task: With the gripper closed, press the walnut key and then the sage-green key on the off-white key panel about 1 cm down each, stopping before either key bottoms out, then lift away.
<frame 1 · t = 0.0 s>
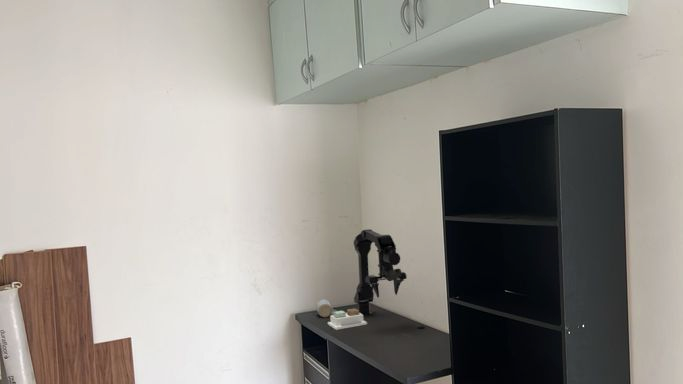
hand: (387, 295, 254), 15 cm above the table, tool pointing down, fingers open, 9 cm apart
sage key: (339, 315, 264), point 5 cm above the table, slide at 0.0 cm
ceramic mug: (327, 315, 283), on the table
walnut key: (353, 313, 266), point 5 cm above the table, slide at 0.0 cm
key panel: (347, 323, 265), on the table
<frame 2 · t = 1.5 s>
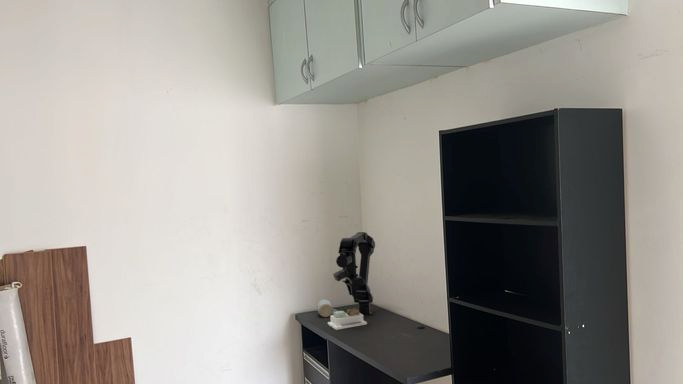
hand: (352, 295, 266), 13 cm above the table, tool pointing down, fingers open, 3 cm apart
nothing on the table moved.
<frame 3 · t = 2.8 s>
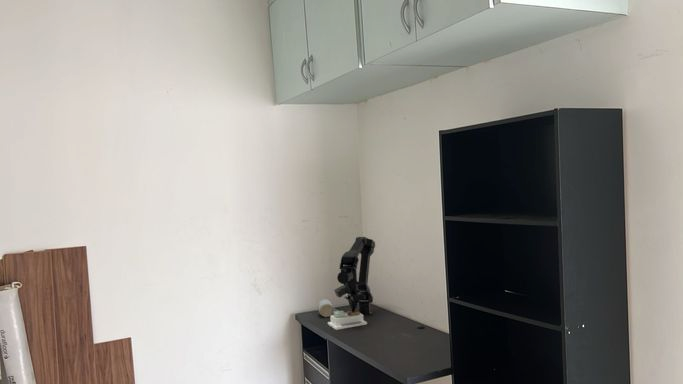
hand: (353, 311, 266), 5 cm above the table, tool pointing down, fingers closed, pressing on walnut key
walnut key: (353, 314, 266), point 4 cm above the table, slide at 0.7 cm, touching gripper
everything else where it was.
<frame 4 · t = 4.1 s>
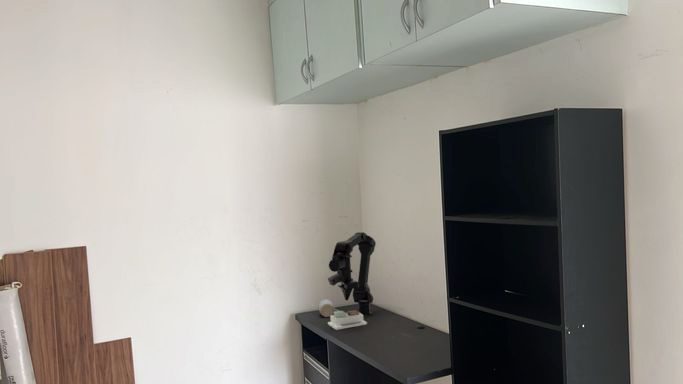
hand: (346, 300, 265), 11 cm above the table, tool pointing down, fingers closed
walnut key: (353, 314, 266), point 4 cm above the table, slide at 0.8 cm
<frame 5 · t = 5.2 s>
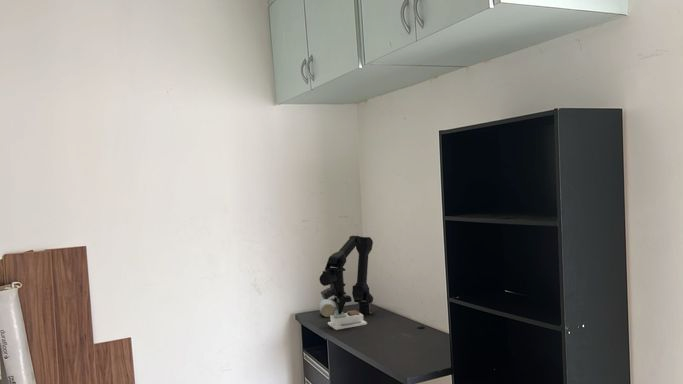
hand: (339, 313, 264), 5 cm above the table, tool pointing down, fingers closed, pressing on sage key
sage key: (339, 316, 264), point 4 cm above the table, slide at 0.7 cm, touching gripper
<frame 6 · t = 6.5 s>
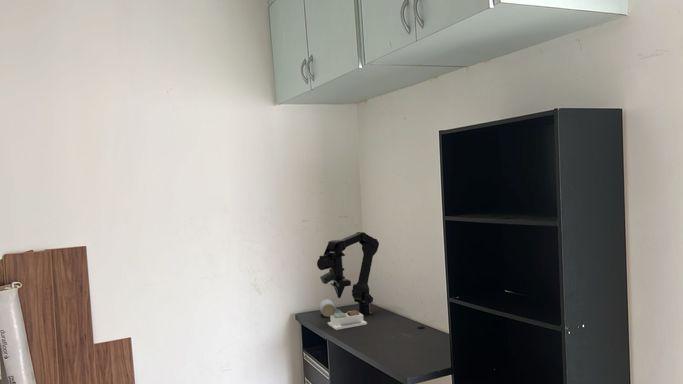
hand: (339, 298, 268), 12 cm above the table, tool pointing down, fingers closed
sage key: (339, 316, 264), point 4 cm above the table, slide at 0.8 cm
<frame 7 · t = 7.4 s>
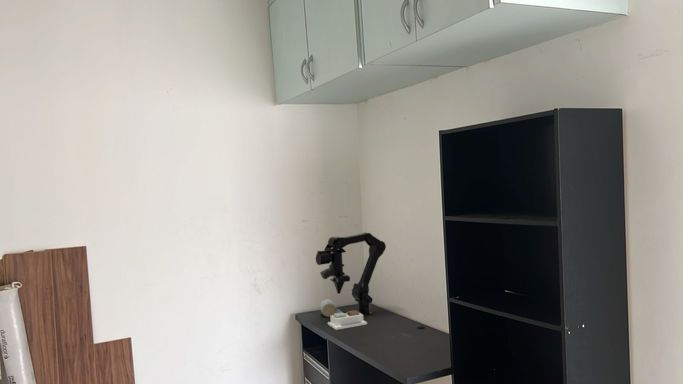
hand: (338, 293, 273), 13 cm above the table, tool pointing down, fingers closed
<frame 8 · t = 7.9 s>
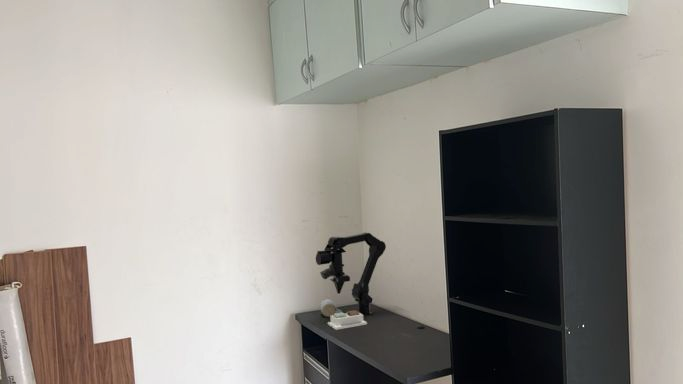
hand: (338, 293, 273), 13 cm above the table, tool pointing down, fingers closed
at the end: walnut key slide at 0.8 cm; sage key slide at 0.8 cm; ceramic mug moved 2.1 cm from its start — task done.
